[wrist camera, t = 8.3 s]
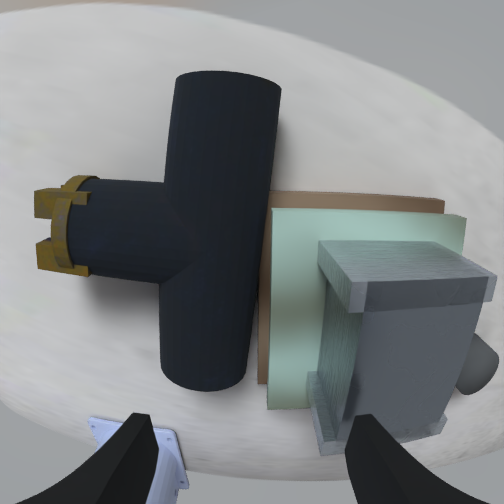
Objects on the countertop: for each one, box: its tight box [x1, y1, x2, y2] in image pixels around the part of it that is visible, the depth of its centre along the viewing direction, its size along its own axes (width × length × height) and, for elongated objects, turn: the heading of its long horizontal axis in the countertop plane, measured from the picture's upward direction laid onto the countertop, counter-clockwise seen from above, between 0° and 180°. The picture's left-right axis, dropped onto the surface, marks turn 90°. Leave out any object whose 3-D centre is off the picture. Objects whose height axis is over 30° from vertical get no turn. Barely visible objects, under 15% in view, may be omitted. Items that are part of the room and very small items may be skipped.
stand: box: [258, 191, 467, 410], centre depth 17 cm, size 12×11×4 cm
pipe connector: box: [34, 71, 281, 392], centre depth 15 cm, size 12×5×15 cm
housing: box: [306, 240, 497, 456], centre depth 12 cm, size 8×6×5 cm
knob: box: [455, 333, 499, 395], centre depth 19 cm, size 4×4×3 cm
